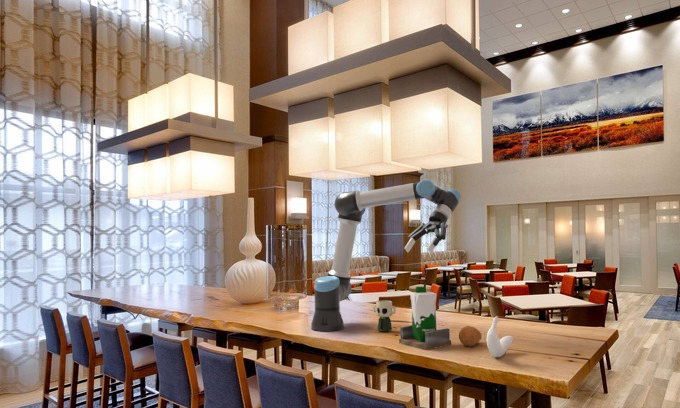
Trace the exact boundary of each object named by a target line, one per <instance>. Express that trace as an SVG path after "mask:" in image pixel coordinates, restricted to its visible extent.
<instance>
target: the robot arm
mask: <svg viewBox="0 0 680 408" xmlns="http://www.w3.org/2000/svg"><path fill="white" fill-rule="evenodd" d="M422 199H425V200H427V201H429V202H431V203H433V204H435V205H436V207H435V208H434V209H433V212H432V213H431V214H430V215H429V217H428V222H427V223H425V222H422V223H421V224H420V225H419V226H418V227H417V228H416V229H415V230H413V231H412V232H411V233H410V234H408V236H407V237H408V238H409V240H408V242H406V243H407V244H406V245H405V246H404V248H403V249H404V250H405V251H406V253H409V252H410V251H411V249H412V248H413V247H414V245H415V243H416V241H417V240H419V239H420V238H422V237H424V236H425V235H428V234H429V233H430V234H431V233H434V234H435V236H434V237H433V239H432V240H431V241H430V243H429V244H428V245H427V248H426V249H427V250H428V252H429V253H430V254H432V253H433V251H434V250H435V249H436V247H437V246H438V244H439V243H440V242H441V241H442V240H443V241H445V240H446V237H447V228H448V223H447V222H448V220H449V219H450V218H451V215H453V213H454V211H455V210H456V208H457V207H458V205H459V203H460V201H461V199H462V195H461V193H460V192H459V191H458V190H456V189H455V188H454V189H453V188H449V189H448V190H444V189H442V188H441V187H438V186H436V185H435V184H434V182H433V181H431V180H429V179H421V180H420V181H417V182H413V183H406V184H401V185H394V186H387V187H383V188H377V189H372V190H366V191H360V190H354V191H351V190H350V191H344V192H341V193H339V194H338V195H337V196H336V197H335V199H334V209H335V210H336V212H337V213H338V216H337V219H338V221H339V226H338V227H339V229H338V233H337V237H336V238H337V240H336V245H335V250H334V255H333V260H332V261H333V262H332V264H331V265H332V267H331V270H329V271H328V272H327V275H325V276H321V277H317V278H316V279H315V280H314V286H313V288H314V312H313V313H314V314H313V317H312V320H311V325H310V326H311V327H310V328H311V330H313V331H316V330H317V332H334V331H340V330H343V329H344V328H345V327H344V325H345V324H344V320H343V317H342V314H341V311H340V310H341V309H340V307H341V305H340V302H342V301H344V300H346V299H347V298H348V297H349V296H350V294H351V293H352V284H351V278H352V276H351V275H350V273H349V272H350V267H351V262H352V255H353V251H354V246H355V245H354V244H355V239H356V233H357V227H358V225H359V224H361V223H362V216H363V215H364V214H365V212H366V209H367V208H372V207H379V206H384V205H385V206H386V205H391V204H396V203H402V202H403V203H404V202H409V201H414V200H422Z"/></svg>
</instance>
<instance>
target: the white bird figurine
mask: <svg viewBox="0 0 680 408" xmlns="http://www.w3.org/2000/svg"><path fill="white" fill-rule="evenodd" d="M498 318H499V315H498V316H497V315H496V316H495V317H494V318H493V319H492V324H491V326H490V328H489V329H488V331H487V334H486V345H487V350H488V352H489V354H490V355H491V356H492V357H494V358H501V357H503V356H504V354H505V353H506V352H507V351H508V350H509V348H510V347H511V345H512V343H513V339H514V337H513V336H511V335H506V336H503V337H502V338H500V337H499V334H498V332H497V326H498V323H499V322H500V320H499V319H498Z"/></svg>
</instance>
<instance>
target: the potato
mask: <svg viewBox="0 0 680 408" xmlns="http://www.w3.org/2000/svg"><path fill="white" fill-rule="evenodd" d="M482 336H483V335H482V333H481V331H480V330H478V329H477V328H476V327H474V326H471V325H466V326H464V327H462V328H461V329H460V330H459V332H458V340H459V341H460V343H461V344H462V345H463V346H466V347H469V348H470V347H474V346H475V345H476V344H478V343H479V342H480V341H481V340H482Z"/></svg>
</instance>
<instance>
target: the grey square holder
mask: <svg viewBox="0 0 680 408" xmlns="http://www.w3.org/2000/svg"><path fill="white" fill-rule="evenodd" d="M399 329H400V332H399V333H400V338H399V339H398V343H399V344H400V343H401V345H404V344H405V346H409V347H413V348H416V349H420V350H425V351H426V350H427V349H428V350H431V348H433V349H436V348H435V347H437V348H441V347H440V346H442V347H445V345H446V346H450V345H452V340H451V339H450V328H447V327H446V328H442V329H437V330H435V331H430V332H425V342H419V341H417V340H415V339H413V331H412V325H405V326H400V328H399ZM428 350H427V351H428Z"/></svg>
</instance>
